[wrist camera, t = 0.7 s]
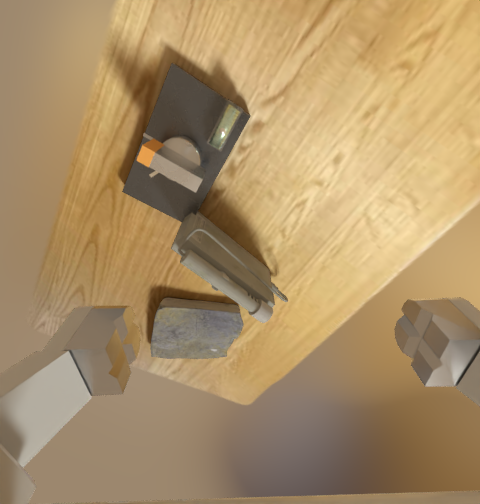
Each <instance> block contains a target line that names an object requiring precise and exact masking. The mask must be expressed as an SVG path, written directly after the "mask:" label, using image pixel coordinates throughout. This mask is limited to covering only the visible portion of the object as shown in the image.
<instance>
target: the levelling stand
mask: <svg viewBox="0 0 480 504" xmlns="http://www.w3.org/2000/svg"><path fill="white" fill-rule="evenodd" d="M249 118H250V115H249V114H248V113H246V112H245V111H244V110H243V109H242V108H241V107H239V106H238V105H236V104H235V103H233V102H232V101H231V100H229V99H228V100H227V99H226V98H224V97H223V96H221V95H220V94H218V93H217V92H216V91H214V90H213V89H211V88H210V87H208V86H207V85H205V84H204V83H202V82H201V81H199V80H198V79H196V78H195V77H193V76H192V75H190V74H189V73H188V72H186V71H185V70H183V69H182V68H180V67H179V66H177V65H176V64H174V63H172V64H171V67H170V69H169V72H168V74H167V77H166V80H165V82H164V85H163V87H162V90H161V93H160V95H159V98H158V100H157V103H156V105H155V108H154V111H153V113H152V116H151V118H150V121H149V124H148V126H147V129H146V131H145V133H144V134H143V136H144V137H143V139H142V142H141V144H140V147H139V150H138V152H137V155H136V157H135V160H134V163H133V165H132V168H131V170H130V173H129V176H128V178H127V181H126V183H125V186H124V189H123V191H122V192H124V193H126V194H128V195H130V196H132V197H134V198H135V199H137V200H139V201H141V202H143V203H145V204H147V205H149V206H151V207H153V208H155V209H157V210H159V211H161V212H163V213H165V214H167V215H169V216H171V217H173V218H175V219H177V220H179V221H181V222H183V220H184V218H185V217H186V216H188V215H189V214H190V213H193V214H195V215H196V213H197V212H198V210H199V208H200V206H201V204H202V203H203V201H204V199H205V197H206V195H207V194H208V192H209V190H210V188H211V186H212V185H213V183H214V181H215V179H216V177H217V176H218V174H219V172H220V170H221V168H222V166H223V165H224V163H225V161H226V159H227V157H228V156H229V154H230V152H231V150H232V148H233V147H234V145H235V143H236V141H237V139H238V138H239V136H240V134H241V132H242V130H243V129H244V127H245V125H246V123H247V121H248V120H249ZM177 135H182V136H186V137H189V138H191V139H192V140H193V141H194V142H195V143H196V144H197V145H198V147H199V149H200V151H201V155H202V161H201V165H200V166H201V167H203V168H204V169H206V172H205V175H204V178H203V180H202V182H201V184H200V186H199V188H198V190H197V192H196V193H195V192H194V191H192V190H190V189H188V188H186V187H185V186H183V185H181V184H179V183H177V182H175V181H172V180H170V179H168V178H167V177H166V176H164V175H163V174H161V173H159V172H157V171H155V170H154V169H152V168H150V167H147V166H145V165H143V164H142V163H140V162H138V161H136V160H137V157H138V155H139V152H140V150H141V147H142V145H143V144H145V143H147V142H148V141H150V140H152V139H153V138H154V139H155V140H157V141H159V142H161V143H162V144H163V143H164V142H165V141H167V140H168V139H169V138H171V137H173V136H177Z"/></svg>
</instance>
